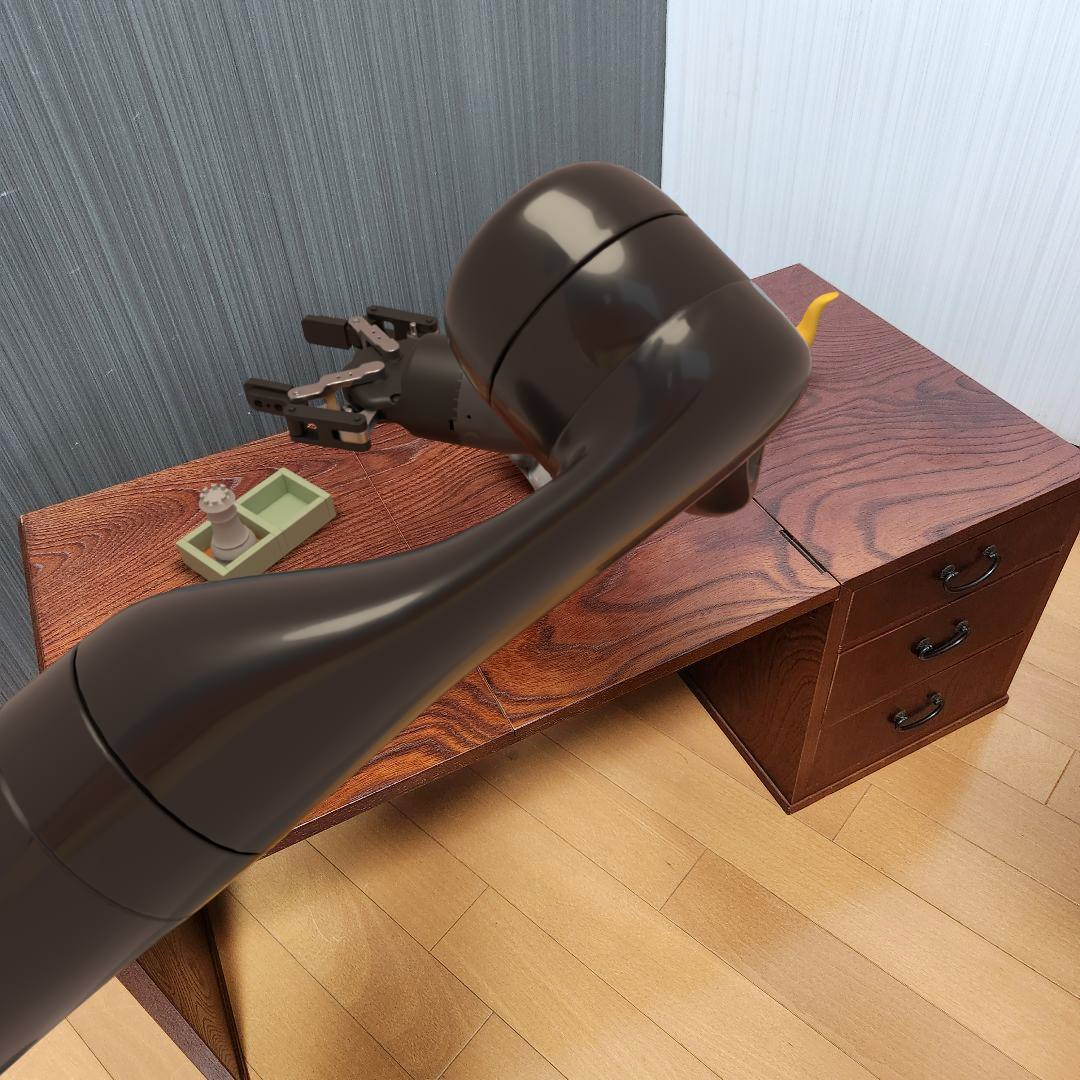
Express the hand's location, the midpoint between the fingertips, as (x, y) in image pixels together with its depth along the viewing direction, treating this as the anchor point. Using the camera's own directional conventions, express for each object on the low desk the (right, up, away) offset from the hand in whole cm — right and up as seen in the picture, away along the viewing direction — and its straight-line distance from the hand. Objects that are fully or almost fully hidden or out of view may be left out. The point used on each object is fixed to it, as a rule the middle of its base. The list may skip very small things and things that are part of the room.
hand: (277, 359), depth 69 cm
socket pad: (-8, -13, +22) cm, 27 cm away
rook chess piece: (-9, -15, +20) cm, 27 cm away
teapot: (+44, +3, +37) cm, 57 cm away
